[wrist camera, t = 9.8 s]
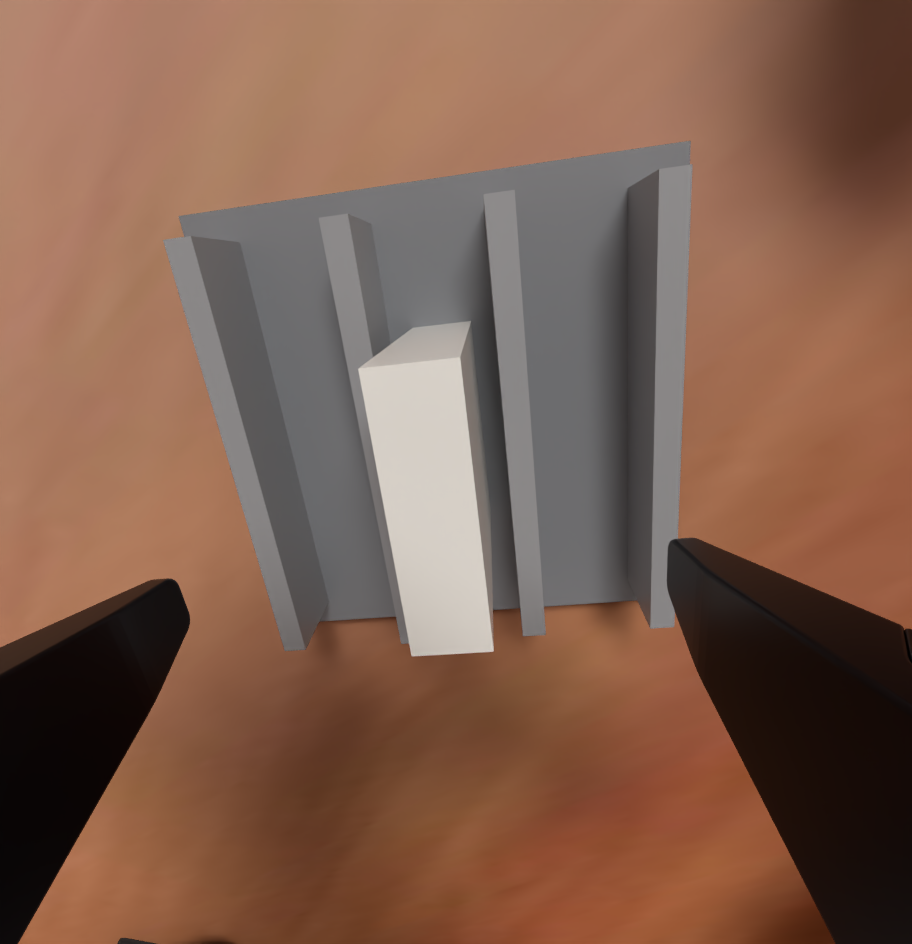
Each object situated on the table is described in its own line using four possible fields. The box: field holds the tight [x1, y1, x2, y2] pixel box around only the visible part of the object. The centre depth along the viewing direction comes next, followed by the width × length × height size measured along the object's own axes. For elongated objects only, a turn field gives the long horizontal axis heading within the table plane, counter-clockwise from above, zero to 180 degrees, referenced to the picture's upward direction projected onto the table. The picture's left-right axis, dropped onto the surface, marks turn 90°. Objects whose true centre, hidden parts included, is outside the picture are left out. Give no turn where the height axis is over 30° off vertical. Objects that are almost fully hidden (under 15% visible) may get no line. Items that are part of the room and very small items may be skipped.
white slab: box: [358, 321, 494, 656], centre depth 15 cm, size 7×2×8 cm, turn 7°
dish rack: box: [163, 141, 692, 651], centre depth 18 cm, size 16×16×4 cm
